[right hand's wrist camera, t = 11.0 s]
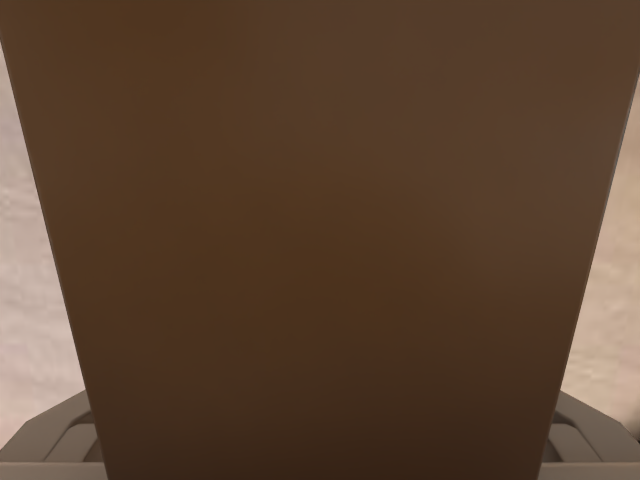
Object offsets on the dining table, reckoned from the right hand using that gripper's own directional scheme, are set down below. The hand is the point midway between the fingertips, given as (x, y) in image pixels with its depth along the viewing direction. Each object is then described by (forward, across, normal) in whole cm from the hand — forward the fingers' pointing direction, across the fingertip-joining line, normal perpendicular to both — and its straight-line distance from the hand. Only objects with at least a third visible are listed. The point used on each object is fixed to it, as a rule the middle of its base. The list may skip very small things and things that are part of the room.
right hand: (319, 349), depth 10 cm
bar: (+4, 0, -9) cm, 10 cm away
